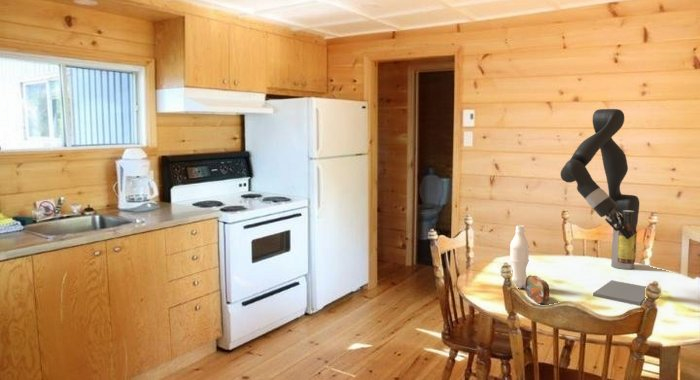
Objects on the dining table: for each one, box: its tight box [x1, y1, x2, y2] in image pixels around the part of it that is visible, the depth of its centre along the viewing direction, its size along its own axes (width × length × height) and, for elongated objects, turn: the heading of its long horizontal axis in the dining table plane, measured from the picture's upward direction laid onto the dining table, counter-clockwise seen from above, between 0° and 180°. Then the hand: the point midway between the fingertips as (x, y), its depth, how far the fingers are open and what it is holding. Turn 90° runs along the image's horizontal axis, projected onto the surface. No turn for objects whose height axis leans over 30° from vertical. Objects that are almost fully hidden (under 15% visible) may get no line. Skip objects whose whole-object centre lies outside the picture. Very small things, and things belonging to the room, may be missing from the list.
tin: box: [525, 274, 551, 304], centre depth 190 cm, size 15×3×8 cm, turn 5°
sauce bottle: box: [617, 210, 638, 264], centre depth 194 cm, size 7×6×20 cm
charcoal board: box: [592, 280, 647, 307], centre depth 197 cm, size 22×16×1 cm
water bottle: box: [509, 224, 530, 290], centre depth 205 cm, size 7×7×25 cm
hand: (632, 236), depth 193 cm, fingers closed on sauce bottle, 6 cm apart
